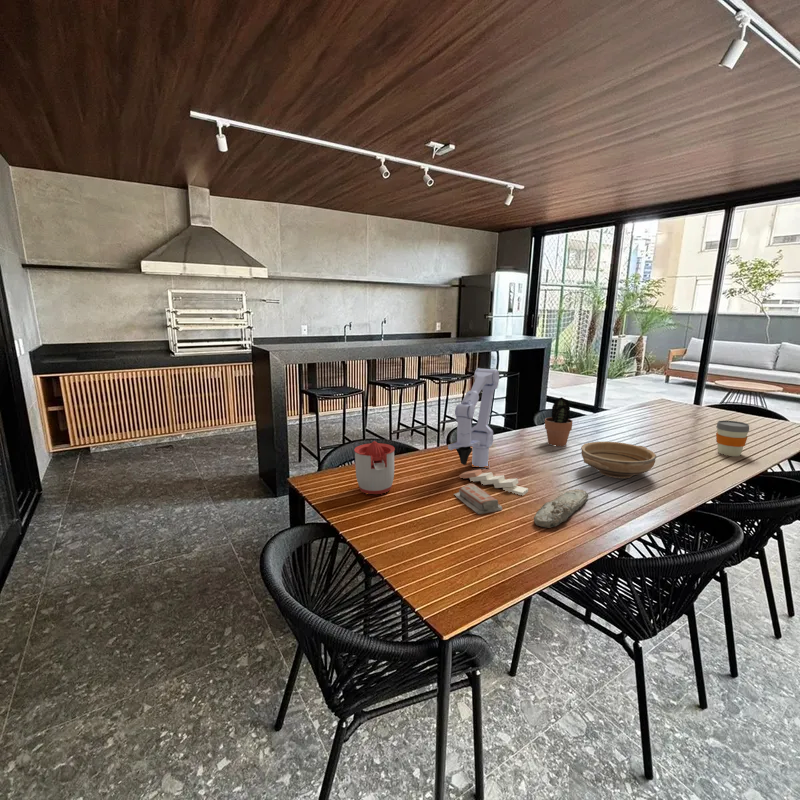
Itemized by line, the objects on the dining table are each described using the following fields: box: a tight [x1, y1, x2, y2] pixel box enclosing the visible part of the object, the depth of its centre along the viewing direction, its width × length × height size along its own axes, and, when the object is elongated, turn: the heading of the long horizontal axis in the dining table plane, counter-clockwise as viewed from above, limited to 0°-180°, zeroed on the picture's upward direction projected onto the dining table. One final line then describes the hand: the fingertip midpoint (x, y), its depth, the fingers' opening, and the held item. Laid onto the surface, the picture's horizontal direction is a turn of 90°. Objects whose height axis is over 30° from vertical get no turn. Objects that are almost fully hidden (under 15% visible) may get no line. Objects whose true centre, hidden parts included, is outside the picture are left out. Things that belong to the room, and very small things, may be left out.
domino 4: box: [493, 477, 519, 489], centre depth 169 cm, size 2×5×8 cm
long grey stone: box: [533, 488, 589, 529], centre depth 149 cm, size 35×5×10 cm
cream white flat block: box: [469, 471, 494, 483], centre depth 175 cm, size 2×5×8 cm
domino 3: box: [480, 474, 506, 486], centre depth 172 cm, size 2×5×8 cm
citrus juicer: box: [353, 440, 396, 495], centre depth 166 cm, size 16×17×20 cm
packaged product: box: [453, 483, 503, 515], centre depth 156 cm, size 18×5×10 cm
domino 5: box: [502, 484, 529, 497], centre depth 166 cm, size 2×5×8 cm
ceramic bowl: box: [580, 441, 657, 479], centre depth 183 cm, size 37×29×10 cm
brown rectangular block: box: [458, 468, 483, 480], centre depth 178 cm, size 2×5×8 cm
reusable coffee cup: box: [715, 420, 750, 457], centre depth 207 cm, size 12×13×15 cm
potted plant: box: [544, 397, 573, 447], centre depth 224 cm, size 14×14×25 cm
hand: (463, 464), depth 180 cm, fingers closed
